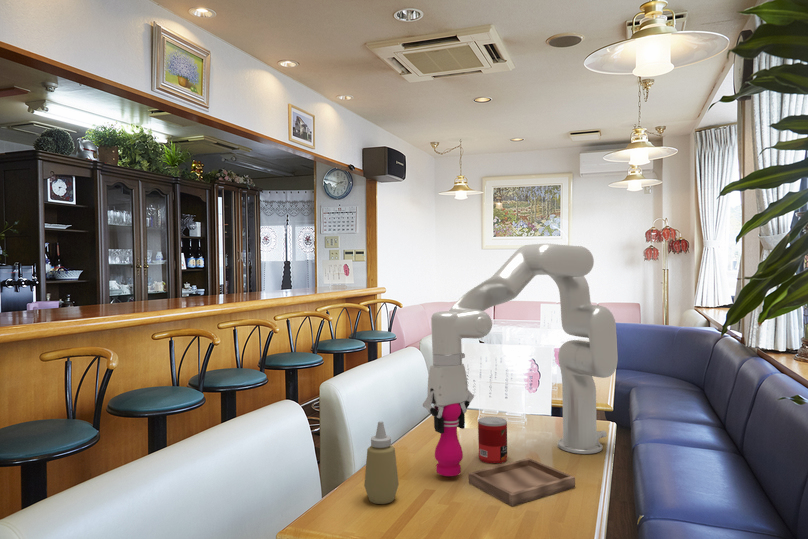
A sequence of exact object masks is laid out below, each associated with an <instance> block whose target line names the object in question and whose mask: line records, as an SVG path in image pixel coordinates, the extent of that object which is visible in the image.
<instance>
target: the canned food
mask: <svg viewBox="0 0 808 539" xmlns="http://www.w3.org/2000/svg"><path fill="white" fill-rule="evenodd" d="M507 421H508V420H507V419H506V418H503V417H498V416H484V417H482V416H481V417H480V418H478V422H477V433H478V434H477V437H478V438H477V440H478V445H477V446H478V458H479V460H480V461H481V462H483V463H485V462H486V463H485V464H490V463H494V464H493V465H496V464H495V463H500V464H503V463H502V462H504V463H506V461H507V460H508V422H507Z"/></svg>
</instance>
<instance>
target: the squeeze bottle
mask: <svg viewBox="0 0 808 539" xmlns="http://www.w3.org/2000/svg"><path fill="white" fill-rule="evenodd" d="M375 432H376V433H375V435H374V436H372V437H371V438H370V446H368V448H367V449H366V461H365V463H366V464H365V474H364V484H363V486H364V489H365V492H366V494H367V498H368V501H369V502H371V503H372V504H377V505H386V504H390V503H391V502H393V501H395V498H396V494H397V491H398V489H399V484H400V483H399V474H398V466H397V457H396V448H395V447H394V446H393V445H392V442H391V440H392V438H391V436H390V435H387V434H386V429H385V424H384V422H383V421H378V422H377V426H376V430H375Z"/></svg>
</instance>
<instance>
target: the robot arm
mask: <svg viewBox="0 0 808 539" xmlns="http://www.w3.org/2000/svg"><path fill="white" fill-rule="evenodd" d="M594 262H595V260H594V256H593V254H592V252H591V250H589V249H588V248H587V247H584V246H581V245H568V244H567V245H566V244H556V243H537V244H536V243H535V244H533V243H532V244H526V245H521V247H519V248H518V249H516V251H514V253H513V254H512V255H511V256H510V257H509V258H508V259H507V260H506V261H505V262H504V264H503V265H501V267H500V268H499V269H498V270H497V271H496V272H495V273H494V274H493V275H492V276H491V277H489V278H487V279H485V280H484V281H482V282H481V283H479V284H478V285H476V286H474V287H473V288H472V289H470V290H468V291H466V292H465V293H464V294H463V295H462V296H461V297H459V299H458V300H457V301H456V302H455V303H454V304H453V305H452V306H451V308H450V309H448V311H437V312H434V313H432V315H431V317H430V318H431V324H430V325H431V344H432V345H431V349H432V365H430V366H429V369H428V370H429V371H428V378H427V379H428V380H427V397H426V398H425V399H424V401H423V403H422V407H423V408H424V409H425V410H426V411H428V412H429V413H430V414H431V416H433V426H434V427H433V428H434V431H435V432H437V433H438V434H440V435H441V434H443V433H444V419H443V418H442V417H441V416H442V412H443V408H444V406H447V405H451V404H455V403H459V405H460V407H461V414H460V416H459V417H458V418H457V419H459V422H458V423H459V425H458V426H457V428H459V429H461V430H464V429H465V424H466V419H465V418H466V416H465V413H467V409H468V407H469V406H470V403H471V402H472V401H473V400H474V398H475V396H474V394H473V393H472V392H471V391H470V390H469V385H468V376H467V372H466V366H465V365H464V363H463V359H465V357H466V354H465V353H463V351H462V350H463V346H462V340H463V339H482V338H484V337H486V336H487V335H489V333H490V332H491V330H492V327H493V320H492V318H491V316H490V314H488V313H487V312H485V311H486V310H488V309H490V308H492V307H495V306H498V305H502V304H504V303H508V302H509V301H510V302H511V301H512V300H514V299H515V298H517V297H518V296H519V294H521V292H522V291H523V290H524V289H525V287H526V286H528V284H529V283H530V282H531V281H532V280H533V279H534V278H535V277H536V276H544V275H545V276H549V277H550V279H552V280H553V281H554V283H555V284H556V286H557V288H558V292H559V301H560V302H559V303H560V320H561V327H562V330H563V331H564V333H565V334H567V335H569V336H573V337H579V338H587V339H588V341H586V340H579V339H574V340H573V339H571V340H567V341H565V342H564V343H562V345H561V346H560V347H559V350H558V363H559V364H558V365H559V368H560V374H561V385H562V386H561V388H562V392H561V393H562V396H561V397H562V438H559V439H558V441H557V446H558V448H559V449H561V450H562V451H566V452H568V453H573V454H580V455H591V454H597V453H600V452H601V451H602V450H603V444H602V443H601V442H600V441H599V440H600V439H602V438H606V437H607V435H608V433H607V431H606V430H600V431H598V430H597V425H598V424H597V388H596V383H595V380H594V378H593V377H595V378H599V379H600V378H601V379H605V378H609V377H611V376H613V374H615V372H616V369H617V367H618V358H619V356H618V355H619V354H618V339H617V338H618V336H617V325H616V319H615V316H614V314H613V312H611V310H610V309H609V308H607V307H605V306H604V305H596V304H592V301H591V293H590V286H589V283H588V280H587V279H586V277H585V276H586V275H588V274H589V273H590V272H591V271H592V269H593V267H594ZM432 404H433V406H432ZM438 407H439V408H438Z"/></svg>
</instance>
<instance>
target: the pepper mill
mask: <svg viewBox="0 0 808 539" xmlns="http://www.w3.org/2000/svg"><path fill="white" fill-rule="evenodd" d="M438 408H439V407H438ZM460 414H461V407H460V405H459V403H455V404H451V405H447V406H444V408H443V412H442V416H441V417H442V418H443V419H444V433H443V434H441V433H440V437H439V440H438V443H437V445H436V446H435V450H434V458H435V461H437V464H436V468H435V469H436V473H437V474H438V475H440V476H444V477H455V476H458V475H461V473H462V472H461V471H462V469H461V468H462V465H461V464H460V463H461V462H462V460H463V458H464V453H463V450H462V444H461V443H460V441H459V438H458V431H457V430H458V427H457V426H458V425H459V423H458V422H459V419H457V418H458V417H459V416H460Z"/></svg>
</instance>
